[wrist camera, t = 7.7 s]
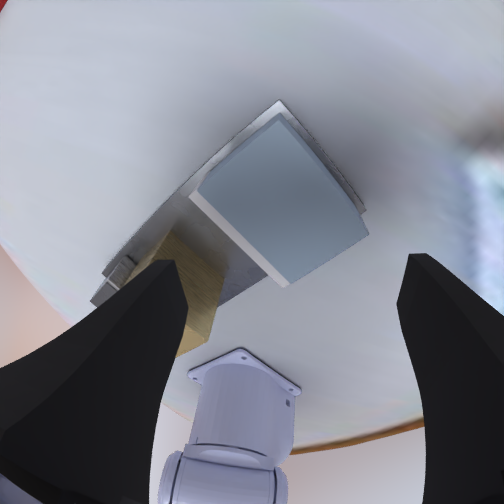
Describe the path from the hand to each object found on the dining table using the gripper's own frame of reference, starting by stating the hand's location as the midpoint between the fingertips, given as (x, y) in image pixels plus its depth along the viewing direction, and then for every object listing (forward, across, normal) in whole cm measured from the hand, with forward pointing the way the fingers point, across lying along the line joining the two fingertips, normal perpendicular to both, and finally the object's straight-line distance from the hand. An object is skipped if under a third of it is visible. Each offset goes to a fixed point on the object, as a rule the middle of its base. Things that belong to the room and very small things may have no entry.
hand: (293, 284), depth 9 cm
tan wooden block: (+9, +8, +6) cm, 13 cm away
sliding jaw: (+9, 0, +1) cm, 9 cm away
